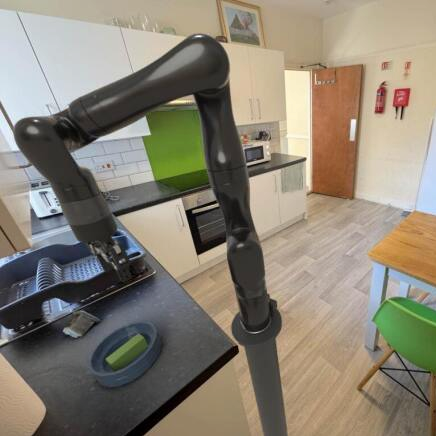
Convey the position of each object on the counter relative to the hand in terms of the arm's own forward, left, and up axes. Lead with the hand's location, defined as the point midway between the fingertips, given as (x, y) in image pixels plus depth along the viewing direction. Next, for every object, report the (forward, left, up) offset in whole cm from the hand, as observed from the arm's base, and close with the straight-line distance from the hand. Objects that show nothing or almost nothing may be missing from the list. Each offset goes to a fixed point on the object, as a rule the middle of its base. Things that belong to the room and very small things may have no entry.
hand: (118, 274), depth 59 cm
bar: (+5, -3, -28) cm, 28 cm away
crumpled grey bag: (+8, -30, -28) cm, 42 cm away
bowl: (+5, -3, -28) cm, 29 cm away
